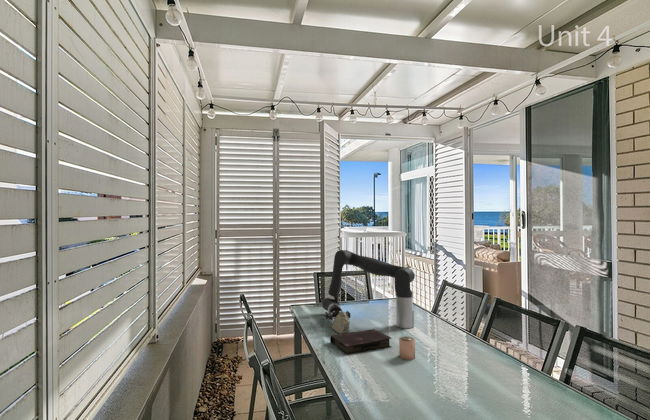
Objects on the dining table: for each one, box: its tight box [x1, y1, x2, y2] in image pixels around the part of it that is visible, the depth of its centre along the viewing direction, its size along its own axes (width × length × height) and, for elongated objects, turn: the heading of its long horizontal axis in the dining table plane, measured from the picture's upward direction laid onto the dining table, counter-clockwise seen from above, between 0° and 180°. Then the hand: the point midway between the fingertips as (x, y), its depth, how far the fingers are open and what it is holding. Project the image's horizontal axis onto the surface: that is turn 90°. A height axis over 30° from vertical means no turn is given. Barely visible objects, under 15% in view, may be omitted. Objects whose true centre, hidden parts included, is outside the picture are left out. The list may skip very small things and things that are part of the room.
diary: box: [329, 328, 393, 355], centre depth 184 cm, size 19×25×5 cm
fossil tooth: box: [331, 311, 351, 335], centre depth 206 cm, size 12×6×15 cm
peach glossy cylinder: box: [398, 335, 416, 361], centre depth 169 cm, size 7×7×8 cm
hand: (339, 318), depth 207 cm, fingers open, 8 cm apart
